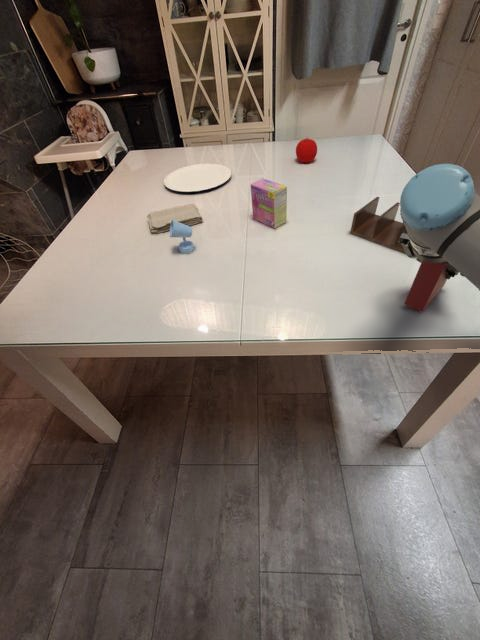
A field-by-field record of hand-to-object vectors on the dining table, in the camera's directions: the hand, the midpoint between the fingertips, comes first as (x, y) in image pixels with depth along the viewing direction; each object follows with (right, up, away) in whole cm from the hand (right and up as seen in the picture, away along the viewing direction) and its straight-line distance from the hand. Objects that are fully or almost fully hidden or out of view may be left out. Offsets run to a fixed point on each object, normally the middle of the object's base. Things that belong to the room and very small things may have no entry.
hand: (439, 269), depth 66 cm
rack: (0, +14, +21) cm, 25 cm away
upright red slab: (-2, -6, +2) cm, 6 cm away
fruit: (-15, +59, +66) cm, 90 cm away
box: (-35, +22, +33) cm, 53 cm away
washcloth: (-67, +23, +38) cm, 81 cm away
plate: (-63, +49, +62) cm, 100 cm away
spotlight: (-61, +10, +25) cm, 67 cm away
